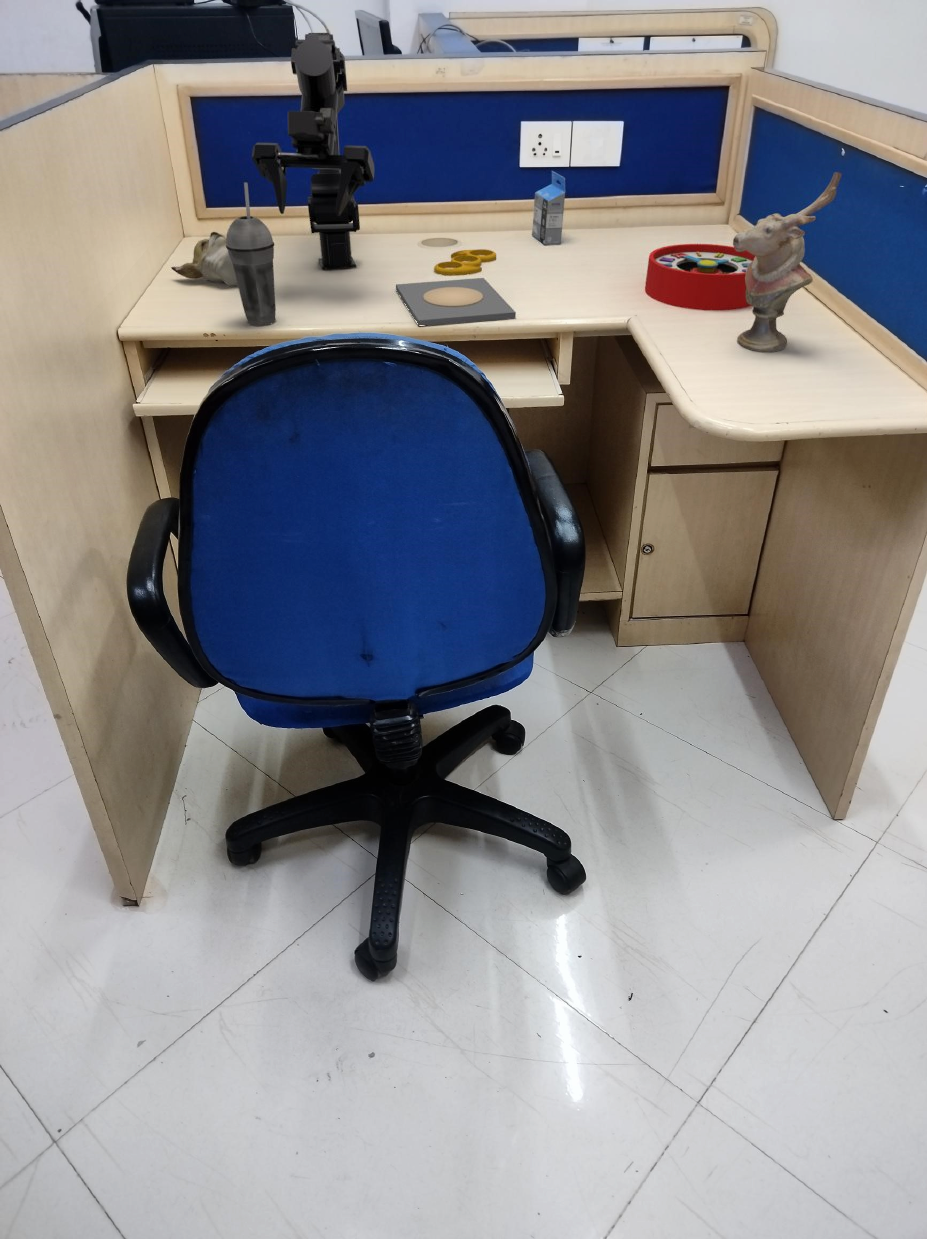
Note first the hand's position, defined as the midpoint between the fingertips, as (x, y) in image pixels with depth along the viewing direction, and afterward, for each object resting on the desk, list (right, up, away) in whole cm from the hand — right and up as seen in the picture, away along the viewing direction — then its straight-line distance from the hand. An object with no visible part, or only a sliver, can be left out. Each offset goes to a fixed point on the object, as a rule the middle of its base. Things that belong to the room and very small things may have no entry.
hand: (309, 213), depth 135 cm
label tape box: (+42, +15, +42) cm, 61 cm away
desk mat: (+23, -11, +8) cm, 27 cm away
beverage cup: (-8, -17, +1) cm, 19 cm away
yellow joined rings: (+25, +3, +28) cm, 37 cm away
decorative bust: (+68, -24, -8) cm, 72 cm away
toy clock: (+66, -8, +13) cm, 68 cm away
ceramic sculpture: (-20, -3, +20) cm, 28 cm away
